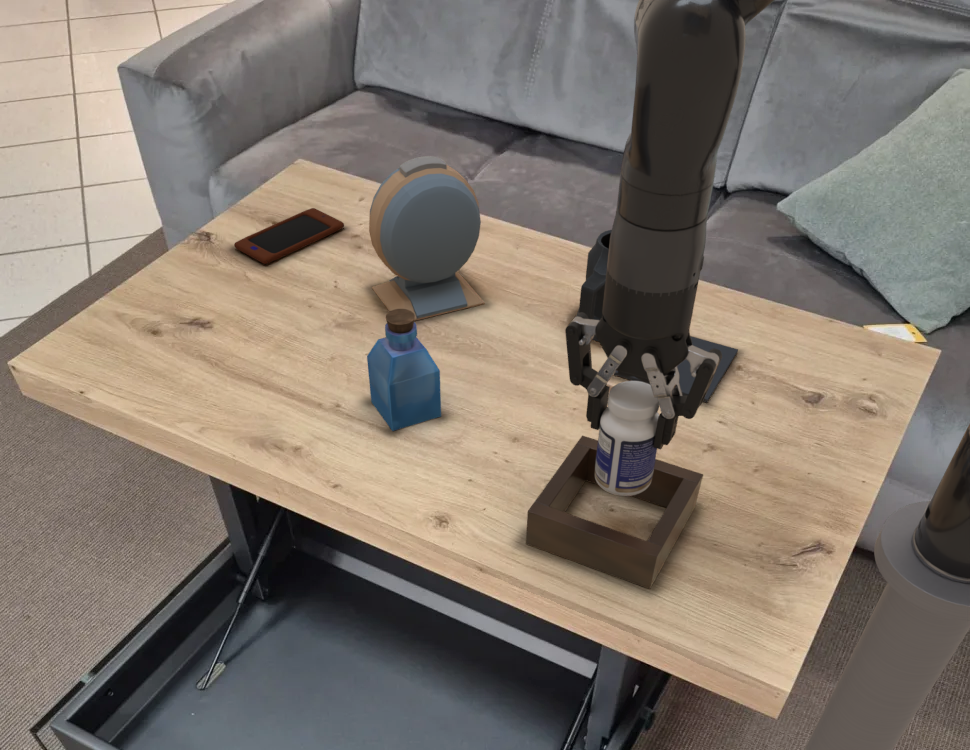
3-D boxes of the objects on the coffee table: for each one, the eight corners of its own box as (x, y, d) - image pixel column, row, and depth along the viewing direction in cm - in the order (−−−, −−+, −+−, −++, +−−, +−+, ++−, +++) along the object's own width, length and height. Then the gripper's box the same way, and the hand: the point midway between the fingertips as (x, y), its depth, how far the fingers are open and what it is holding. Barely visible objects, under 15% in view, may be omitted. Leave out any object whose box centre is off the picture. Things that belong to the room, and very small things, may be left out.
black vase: (596, 297, 126) (606, 215, 118) (656, 319, 123) (671, 236, 115) (550, 338, 120) (556, 254, 111) (612, 362, 117) (623, 277, 108)
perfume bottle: (392, 431, 107) (385, 338, 98) (371, 402, 111) (362, 309, 102) (441, 416, 109) (438, 323, 100) (418, 388, 113) (414, 296, 104)
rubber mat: (737, 352, 119) (738, 349, 118) (707, 403, 112) (707, 399, 111) (648, 327, 122) (649, 324, 122) (613, 375, 115) (614, 371, 115)
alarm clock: (461, 268, 131) (460, 134, 117) (491, 302, 125) (494, 165, 112) (365, 290, 127) (352, 153, 113) (392, 326, 121) (382, 187, 108)
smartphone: (232, 242, 132) (312, 205, 140) (233, 248, 133) (313, 212, 140) (264, 259, 129) (345, 221, 137) (265, 266, 130) (345, 228, 137)
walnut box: (695, 506, 100) (703, 474, 96) (650, 589, 92) (657, 556, 89) (578, 468, 104) (582, 435, 100) (525, 543, 96) (527, 511, 93)
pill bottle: (659, 470, 94) (674, 385, 86) (640, 505, 91) (655, 420, 83) (605, 455, 96) (615, 370, 88) (585, 488, 92) (594, 403, 85)
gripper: (553, 265, 76) (543, 434, 89) (725, 309, 72) (688, 480, 85) (590, 225, 80) (575, 392, 93) (753, 264, 76) (714, 434, 89)
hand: (629, 433), depth 89 cm, fingers closed on pill bottle, 5 cm apart
